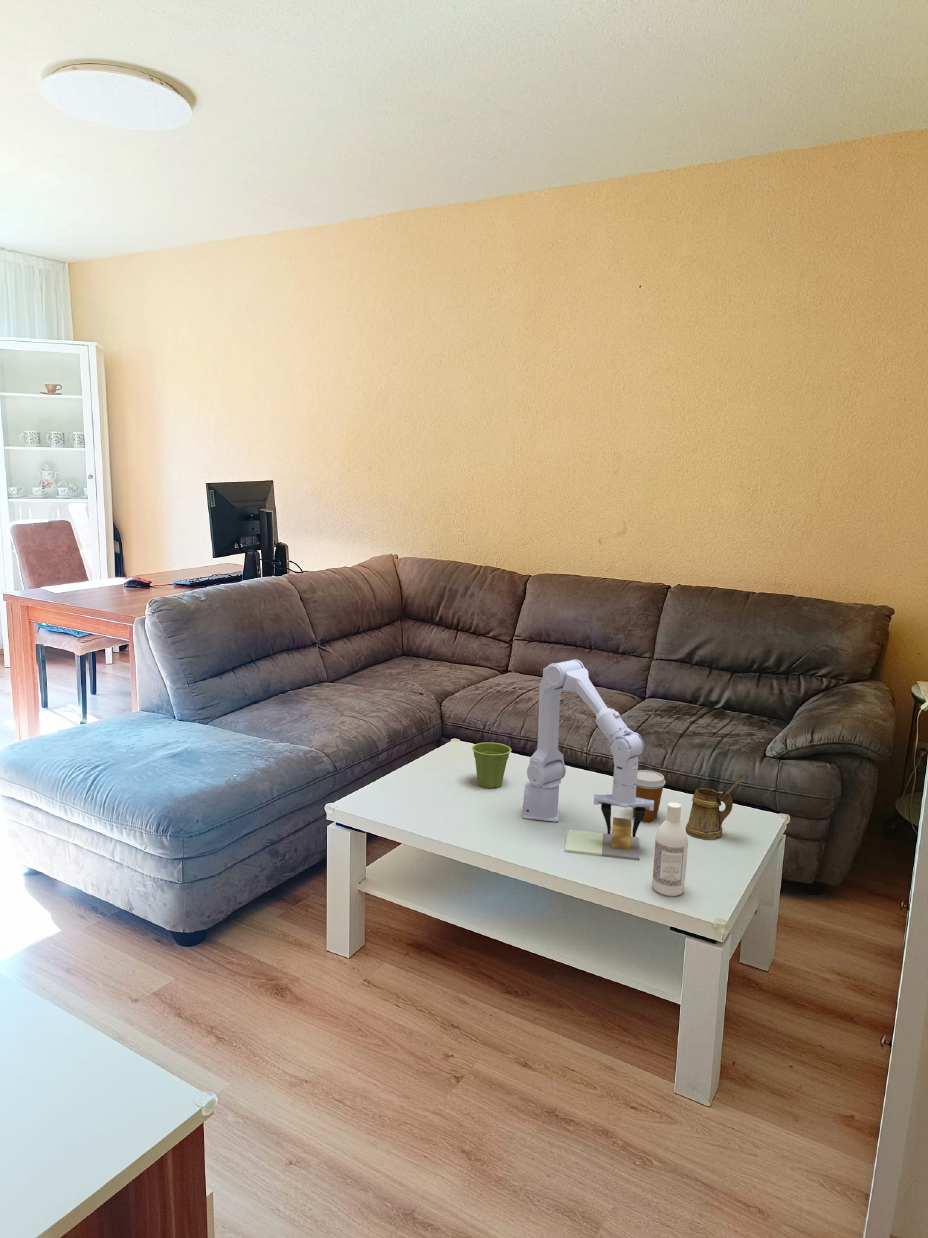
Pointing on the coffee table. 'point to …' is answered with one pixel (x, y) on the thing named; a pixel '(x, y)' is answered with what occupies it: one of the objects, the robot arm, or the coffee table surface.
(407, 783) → the coffee table surface
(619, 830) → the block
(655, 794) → the disposable coffee cup
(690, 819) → the wooden mug
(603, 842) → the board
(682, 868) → the bath foam
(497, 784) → the plant pot
